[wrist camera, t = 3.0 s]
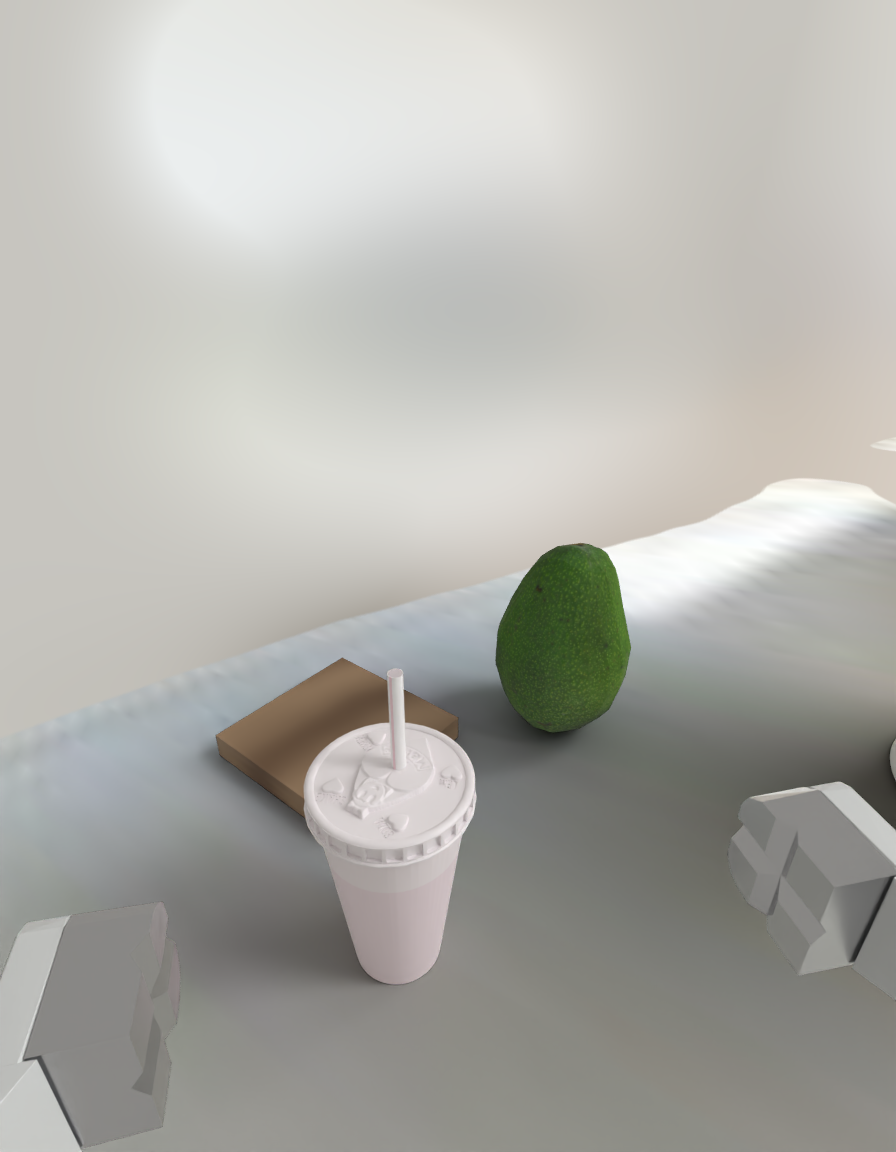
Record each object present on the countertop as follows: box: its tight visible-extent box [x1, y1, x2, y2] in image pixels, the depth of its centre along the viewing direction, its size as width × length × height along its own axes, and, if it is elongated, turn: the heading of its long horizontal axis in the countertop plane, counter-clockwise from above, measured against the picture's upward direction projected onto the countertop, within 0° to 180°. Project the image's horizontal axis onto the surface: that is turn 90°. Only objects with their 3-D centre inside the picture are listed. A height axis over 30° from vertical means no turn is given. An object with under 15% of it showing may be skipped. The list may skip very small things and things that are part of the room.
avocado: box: [496, 543, 631, 733], centre depth 40 cm, size 8×8×12 cm
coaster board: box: [216, 658, 458, 818], centre depth 39 cm, size 10×10×2 cm
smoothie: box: [304, 669, 477, 985], centre depth 26 cm, size 6×6×14 cm
